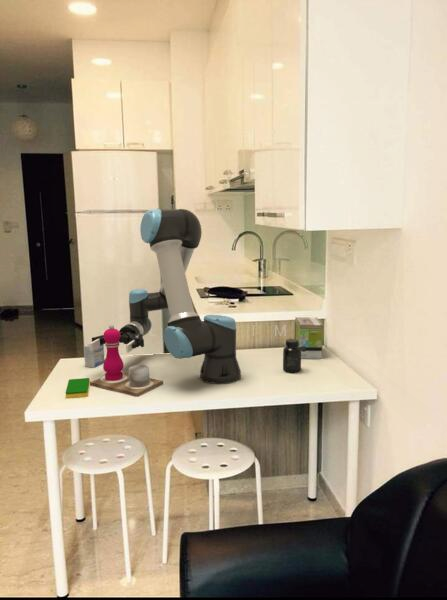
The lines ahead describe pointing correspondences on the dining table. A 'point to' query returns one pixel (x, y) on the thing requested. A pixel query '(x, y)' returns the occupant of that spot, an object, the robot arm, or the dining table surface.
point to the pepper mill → (112, 355)
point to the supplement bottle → (292, 356)
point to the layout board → (122, 386)
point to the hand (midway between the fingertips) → (109, 348)
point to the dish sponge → (77, 388)
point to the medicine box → (94, 356)
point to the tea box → (309, 337)
